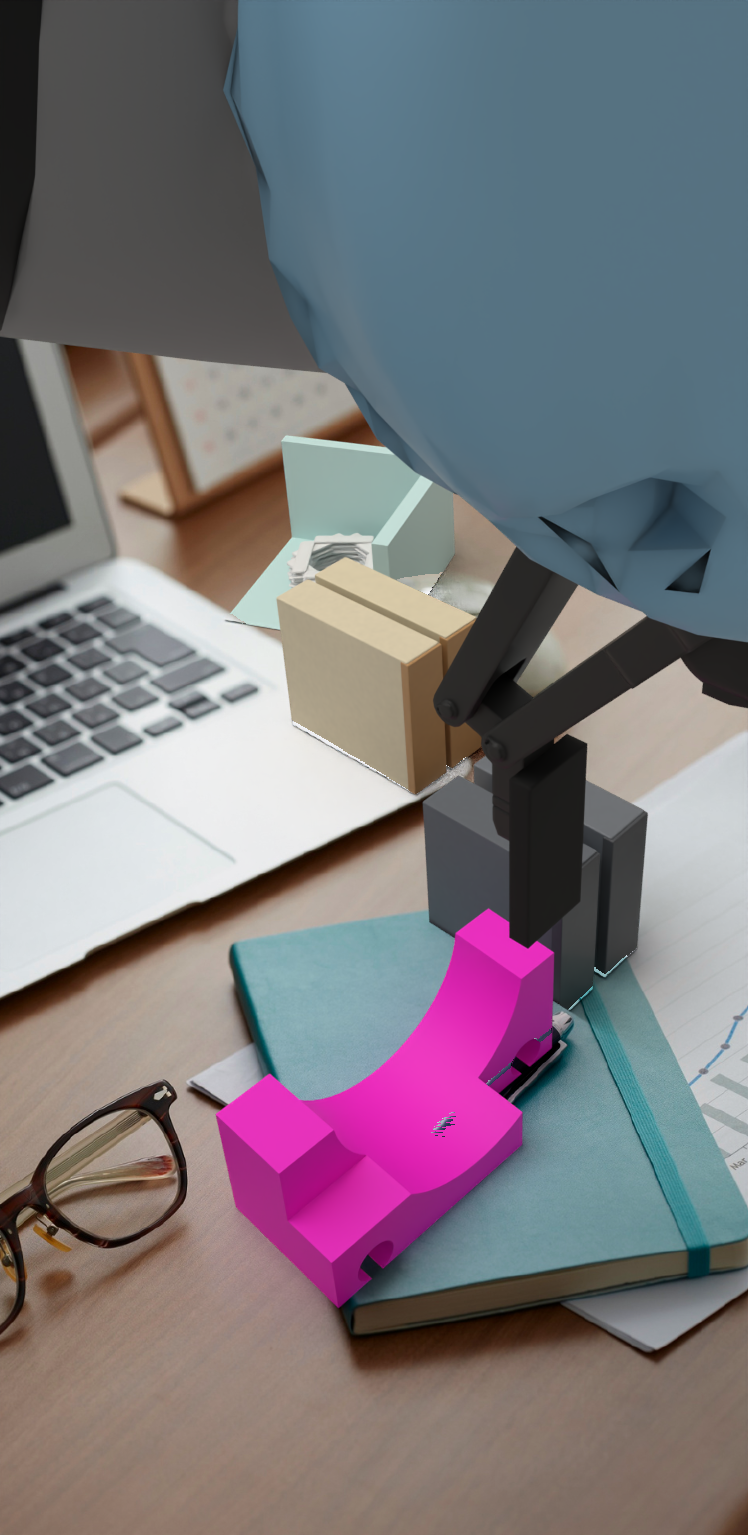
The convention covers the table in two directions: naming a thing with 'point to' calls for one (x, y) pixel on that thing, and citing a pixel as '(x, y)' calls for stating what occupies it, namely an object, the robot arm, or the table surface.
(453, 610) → the beige upright slab
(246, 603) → the right angle wall
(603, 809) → the dark gray block
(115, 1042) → the table surface
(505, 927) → the toy block
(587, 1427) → the table surface
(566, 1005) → the gray rectangular block
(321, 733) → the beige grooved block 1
